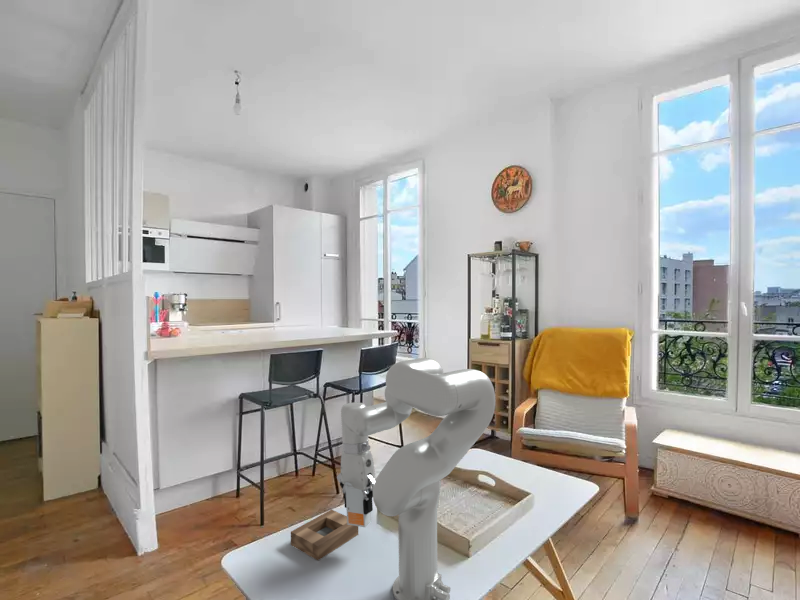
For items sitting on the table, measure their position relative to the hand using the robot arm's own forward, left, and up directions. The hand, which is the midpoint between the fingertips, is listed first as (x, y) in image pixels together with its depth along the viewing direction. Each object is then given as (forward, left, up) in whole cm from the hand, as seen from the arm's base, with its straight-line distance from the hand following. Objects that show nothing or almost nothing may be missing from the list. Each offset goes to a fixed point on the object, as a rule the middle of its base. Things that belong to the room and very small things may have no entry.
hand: (358, 508), depth 120 cm
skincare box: (0, 0, -4) cm, 4 cm away
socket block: (+11, +3, -12) cm, 16 cm away
